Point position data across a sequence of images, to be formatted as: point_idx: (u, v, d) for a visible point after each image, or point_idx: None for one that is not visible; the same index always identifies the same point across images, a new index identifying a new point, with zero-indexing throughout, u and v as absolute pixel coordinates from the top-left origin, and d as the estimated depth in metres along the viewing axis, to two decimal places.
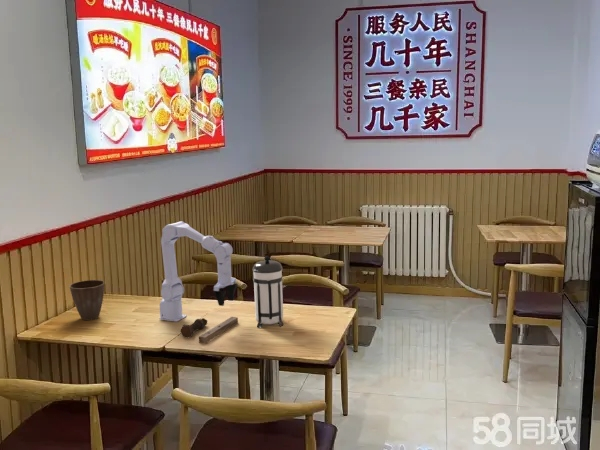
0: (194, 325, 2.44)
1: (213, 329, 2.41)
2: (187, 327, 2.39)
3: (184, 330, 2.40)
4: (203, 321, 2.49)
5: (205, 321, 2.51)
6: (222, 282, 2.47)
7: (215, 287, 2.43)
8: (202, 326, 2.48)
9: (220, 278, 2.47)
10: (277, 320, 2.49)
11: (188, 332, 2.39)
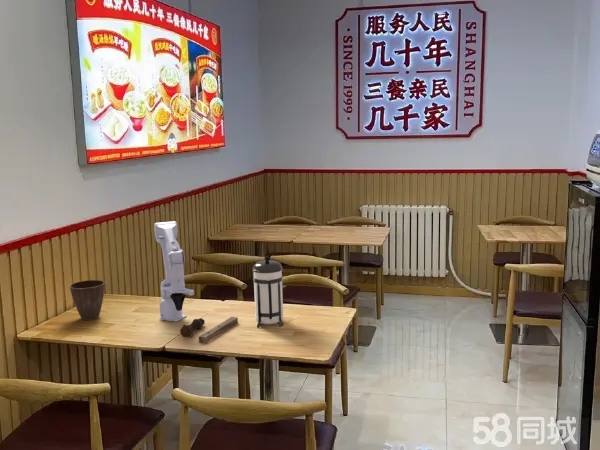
0: (193, 325, 2.44)
1: (213, 329, 2.41)
2: (187, 327, 2.39)
3: (184, 330, 2.39)
4: (201, 321, 2.49)
5: (202, 321, 2.52)
6: None
7: None
8: (200, 326, 2.48)
9: None
10: (277, 320, 2.49)
11: (188, 332, 2.39)
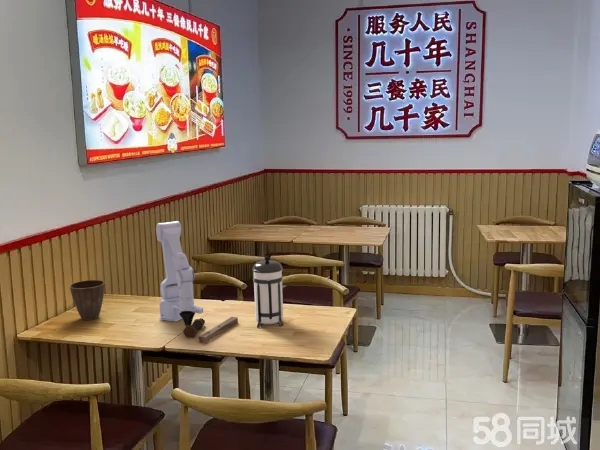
0: (195, 325, 2.43)
1: (213, 329, 2.41)
2: (191, 327, 2.38)
3: (187, 331, 2.39)
4: (202, 321, 2.49)
5: (203, 321, 2.51)
6: None
7: None
8: (202, 326, 2.48)
9: None
10: (277, 320, 2.49)
11: (192, 332, 2.38)
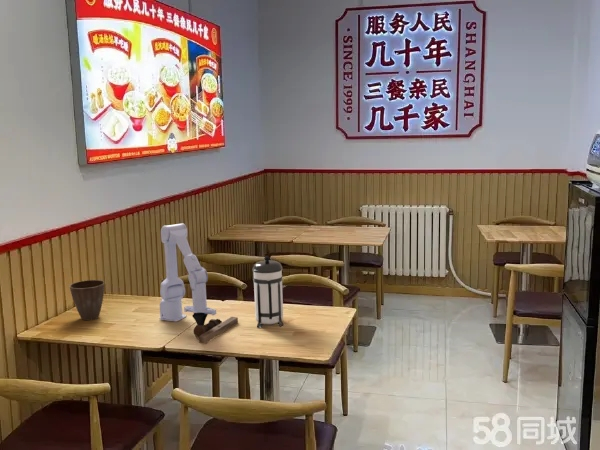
0: (207, 325, 2.42)
1: (213, 329, 2.41)
2: (200, 327, 2.38)
3: (197, 330, 2.38)
4: (217, 322, 2.47)
5: (219, 322, 2.49)
6: None
7: None
8: None
9: None
10: (277, 320, 2.49)
11: (201, 333, 2.38)
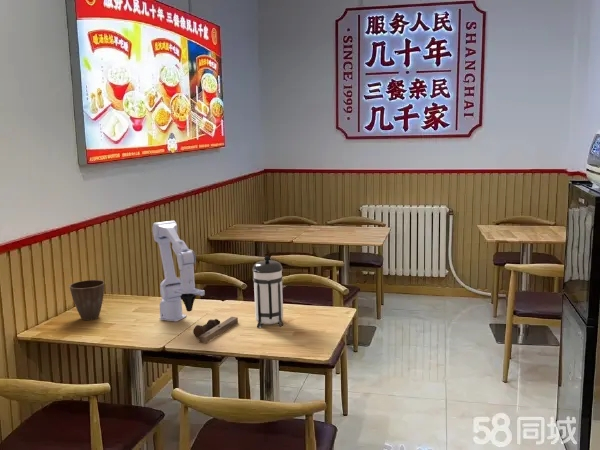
0: (207, 326, 2.42)
1: (213, 329, 2.41)
2: (200, 328, 2.37)
3: (197, 331, 2.38)
4: (216, 322, 2.47)
5: (218, 322, 2.50)
6: None
7: None
8: None
9: None
10: (277, 320, 2.49)
11: (201, 333, 2.38)
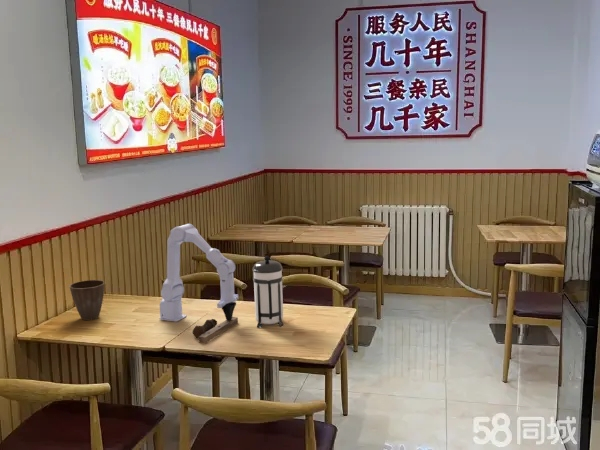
0: (206, 326, 2.42)
1: (213, 329, 2.41)
2: (200, 328, 2.37)
3: (197, 331, 2.38)
4: (214, 322, 2.48)
5: (215, 322, 2.50)
6: (225, 299, 2.48)
7: (218, 304, 2.44)
8: (213, 327, 2.46)
9: (223, 295, 2.48)
10: (277, 320, 2.49)
11: (201, 333, 2.37)
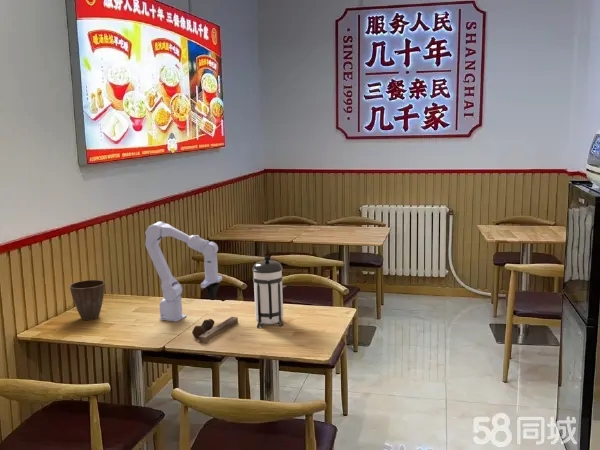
0: (205, 326, 2.42)
1: (213, 329, 2.41)
2: (200, 328, 2.37)
3: (196, 331, 2.38)
4: (211, 321, 2.48)
5: (212, 321, 2.50)
6: (209, 279, 2.56)
7: (202, 284, 2.52)
8: (211, 326, 2.47)
9: (207, 276, 2.56)
10: (277, 320, 2.49)
11: (201, 333, 2.37)
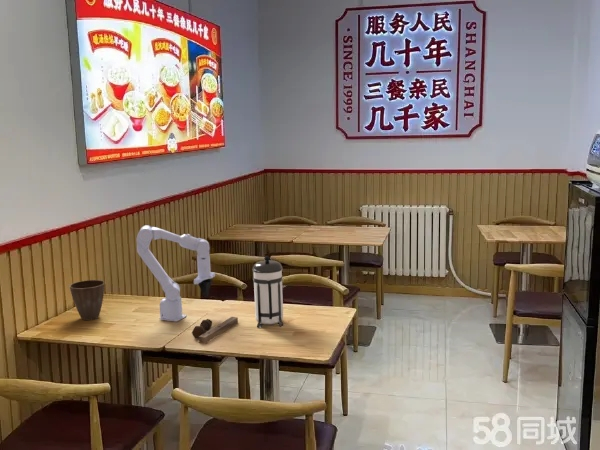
0: (204, 326, 2.42)
1: (213, 329, 2.41)
2: (200, 328, 2.37)
3: (196, 331, 2.37)
4: (210, 322, 2.48)
5: (210, 322, 2.50)
6: (201, 276, 2.61)
7: (195, 281, 2.57)
8: (210, 327, 2.47)
9: (200, 272, 2.61)
10: (277, 320, 2.49)
11: (201, 333, 2.37)
